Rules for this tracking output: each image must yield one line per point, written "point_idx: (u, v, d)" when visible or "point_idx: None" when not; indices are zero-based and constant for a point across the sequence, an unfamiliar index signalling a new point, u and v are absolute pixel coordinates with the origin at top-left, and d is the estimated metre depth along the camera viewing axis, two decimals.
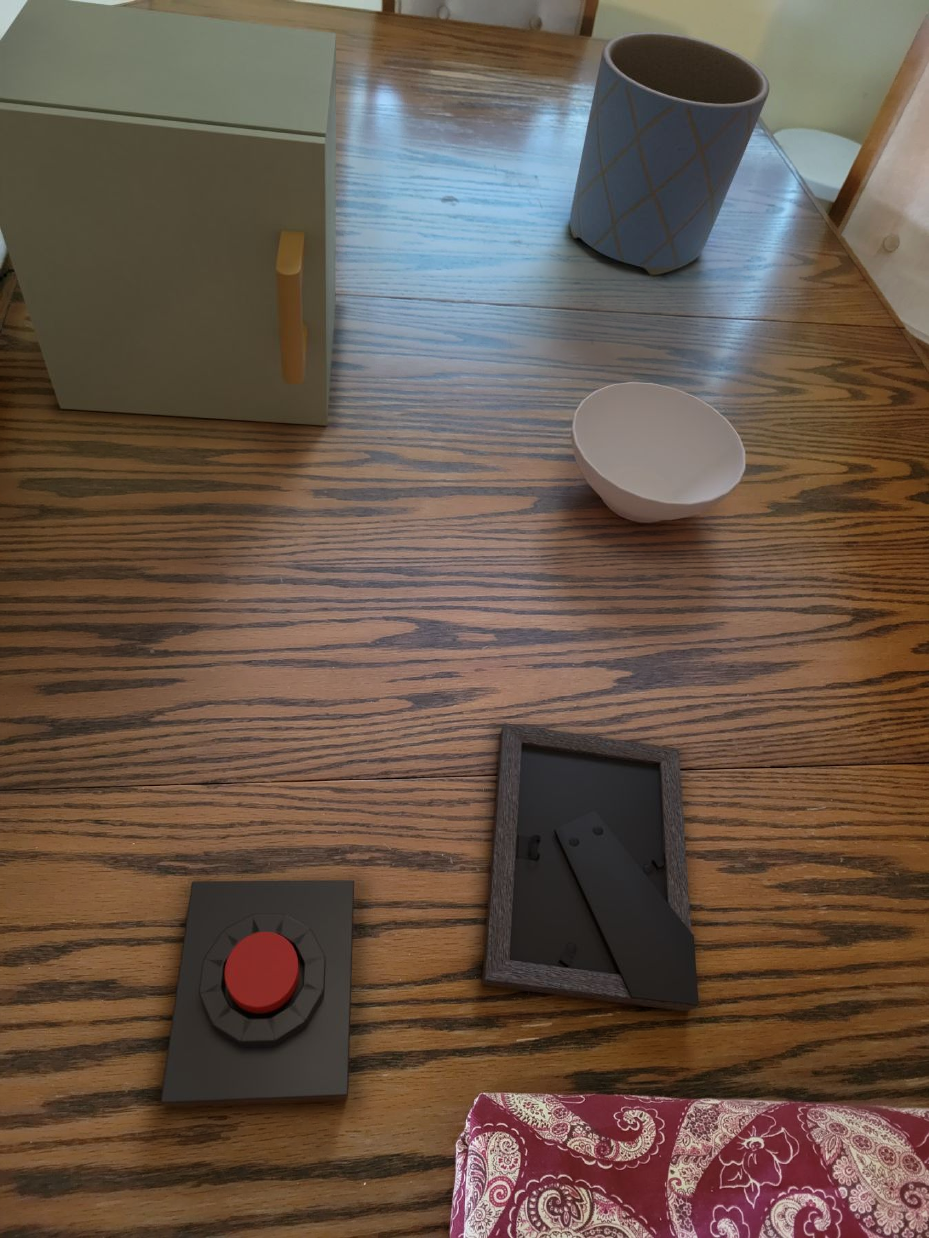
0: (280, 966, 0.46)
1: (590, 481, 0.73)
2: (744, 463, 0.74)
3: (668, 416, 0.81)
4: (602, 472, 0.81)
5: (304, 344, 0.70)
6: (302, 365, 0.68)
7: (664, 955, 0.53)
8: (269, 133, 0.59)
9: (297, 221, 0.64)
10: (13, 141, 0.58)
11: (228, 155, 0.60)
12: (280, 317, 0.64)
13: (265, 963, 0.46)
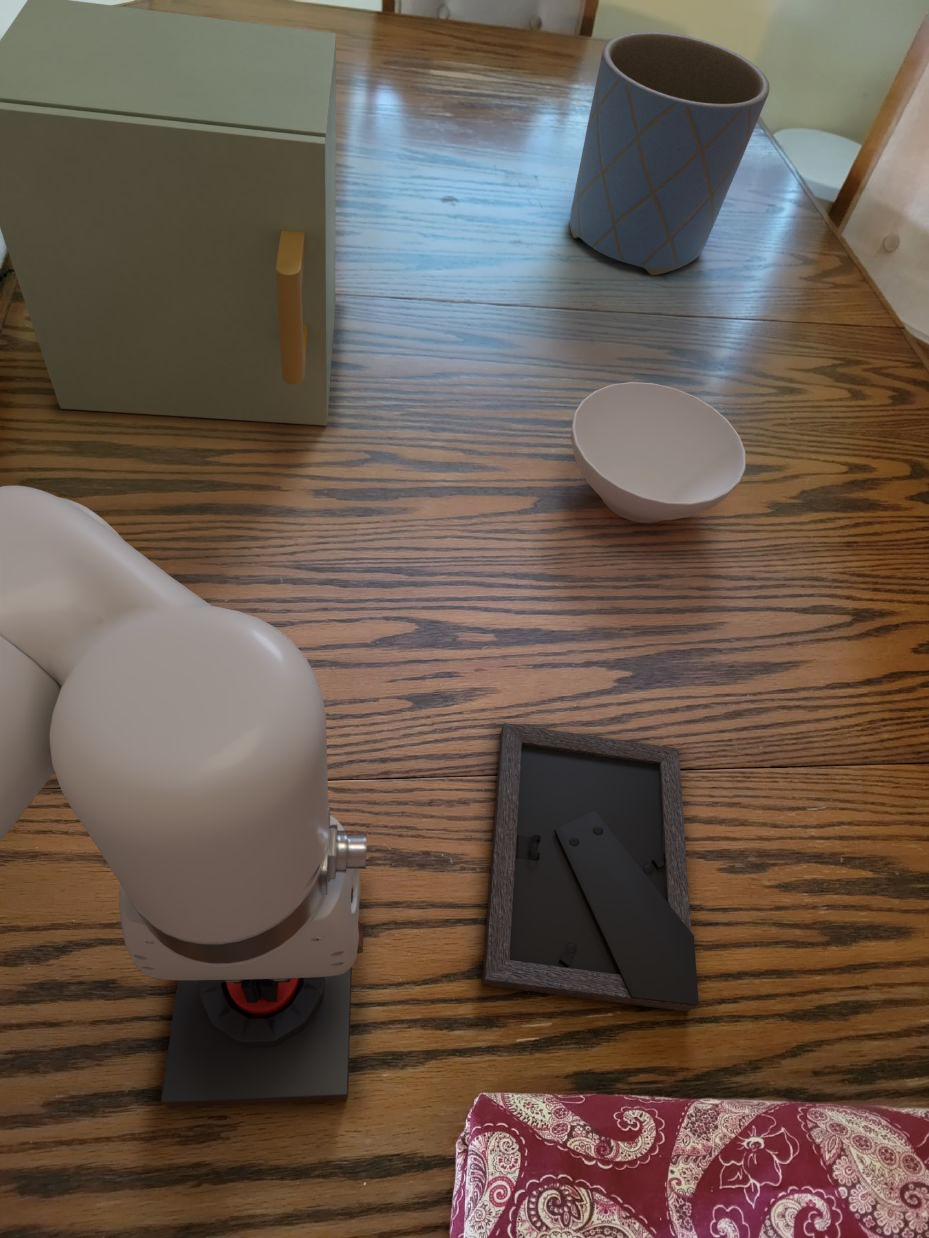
0: None
1: (590, 481, 0.73)
2: (743, 463, 0.74)
3: (668, 416, 0.81)
4: (602, 472, 0.81)
5: (304, 344, 0.70)
6: (302, 365, 0.68)
7: (664, 955, 0.53)
8: (269, 133, 0.59)
9: (297, 221, 0.64)
10: (13, 141, 0.58)
11: (228, 155, 0.60)
12: (280, 317, 0.64)
13: None
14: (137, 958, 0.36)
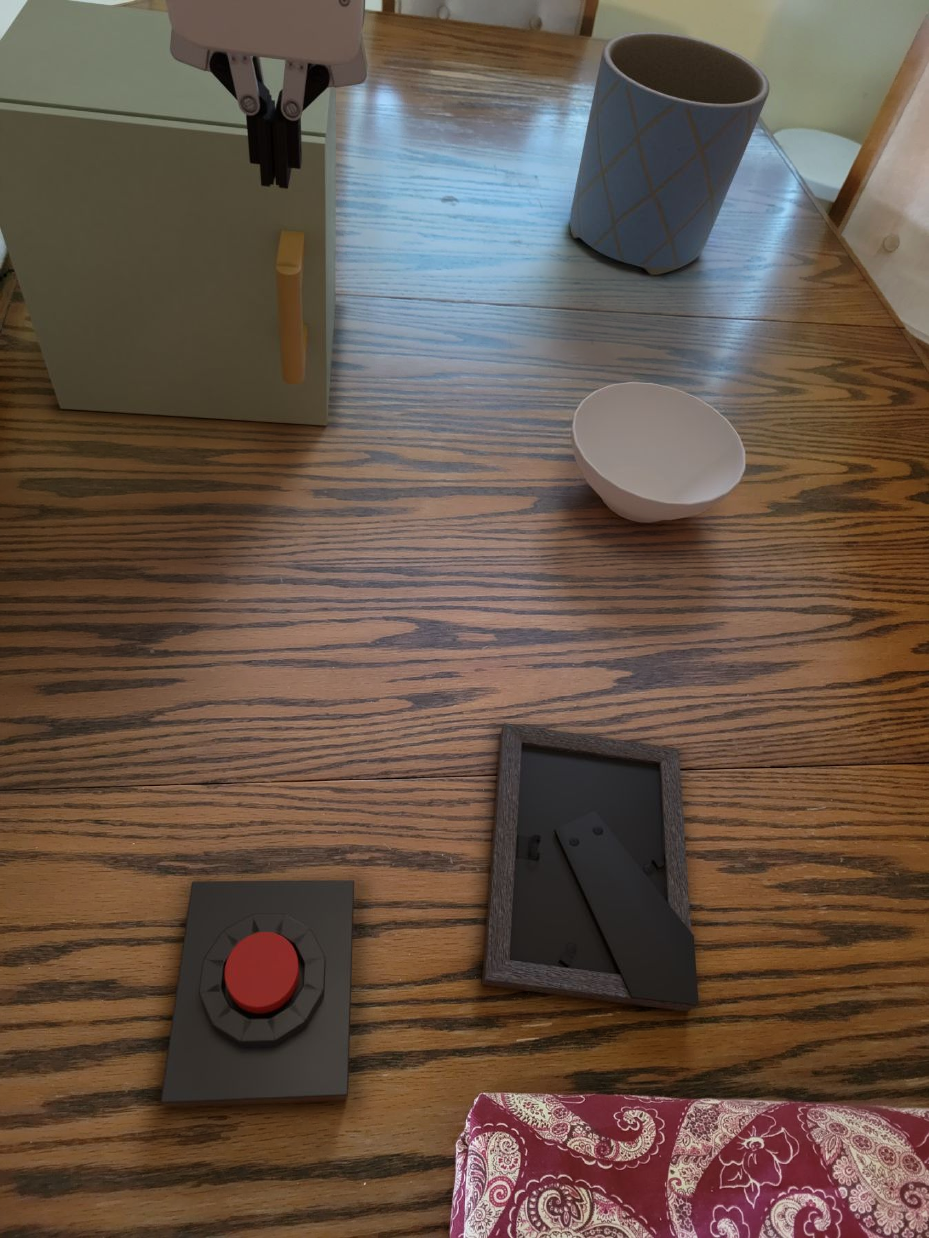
0: (280, 966, 0.46)
1: (590, 481, 0.73)
2: (743, 463, 0.74)
3: (668, 416, 0.81)
4: (602, 472, 0.81)
5: (304, 344, 0.70)
6: (302, 365, 0.68)
7: (664, 955, 0.53)
8: None
9: (297, 221, 0.64)
10: (13, 141, 0.58)
11: (228, 155, 0.60)
12: (280, 317, 0.64)
13: (265, 963, 0.46)
14: None
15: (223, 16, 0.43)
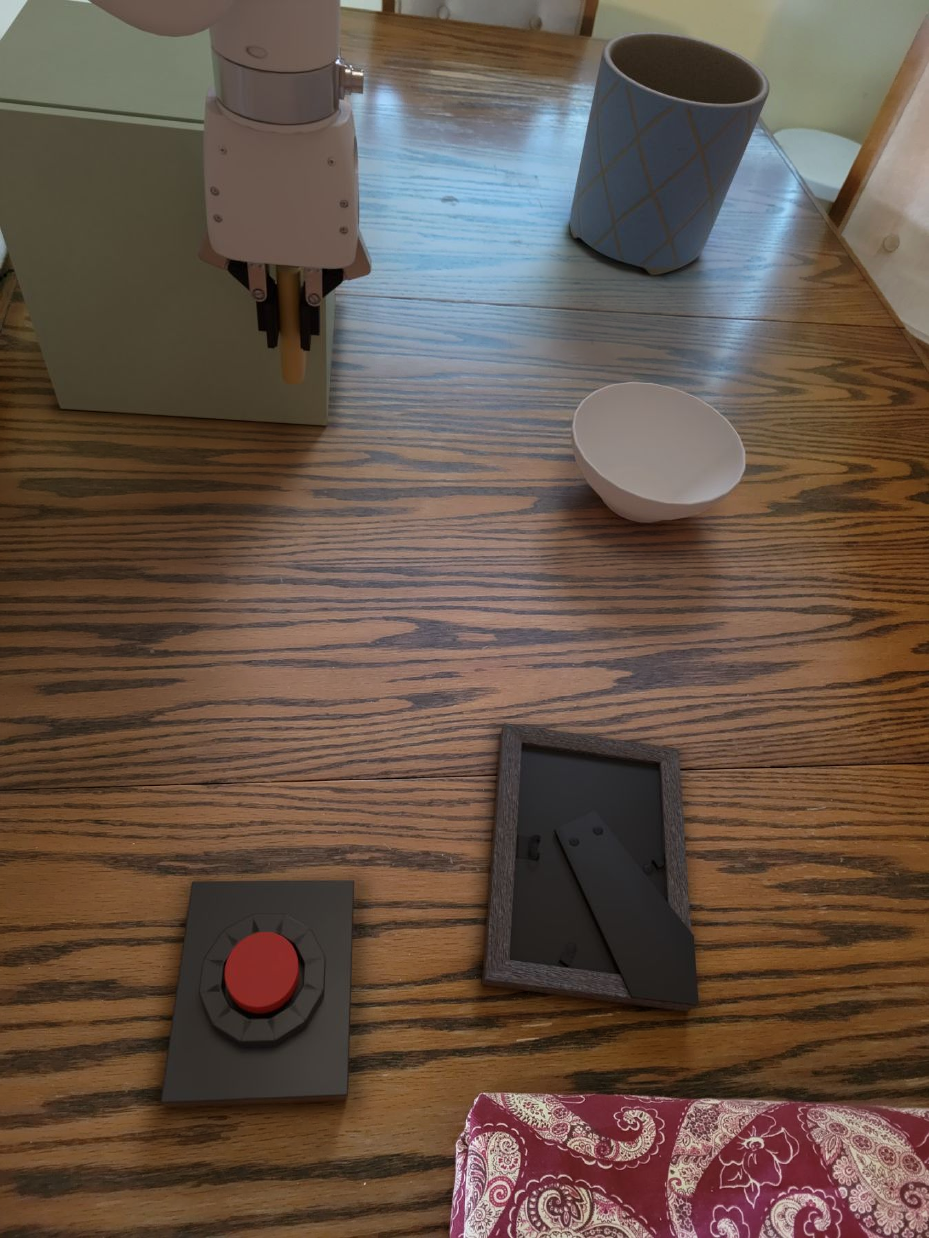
0: (280, 966, 0.46)
1: (590, 481, 0.73)
2: (743, 463, 0.74)
3: (668, 416, 0.81)
4: (602, 472, 0.81)
5: None
6: (302, 365, 0.68)
7: (664, 955, 0.53)
8: None
9: None
10: (13, 141, 0.58)
11: None
12: (280, 317, 0.64)
13: (265, 963, 0.46)
14: (212, 195, 0.54)
15: (252, 242, 0.57)
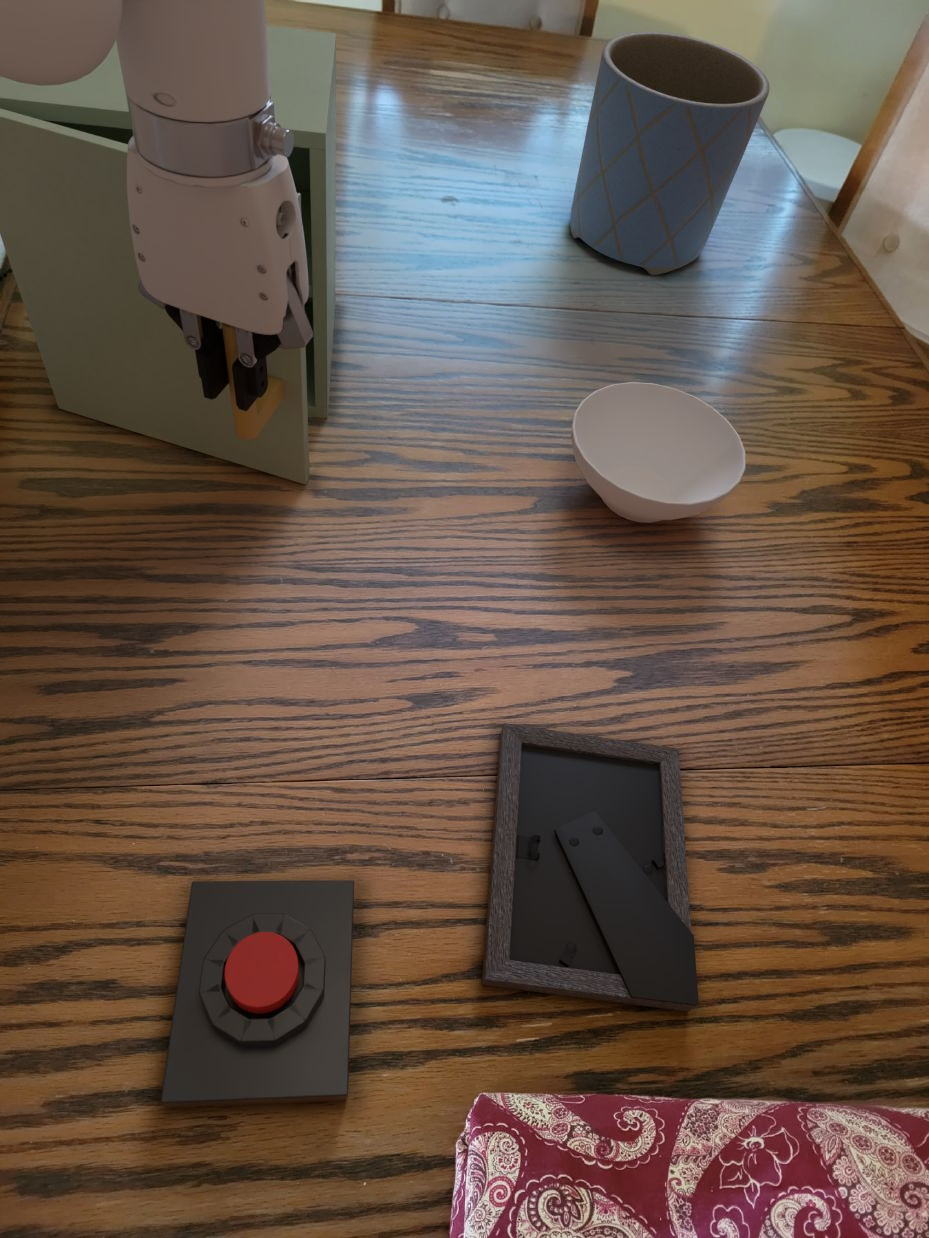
0: (280, 966, 0.46)
1: (590, 481, 0.73)
2: (744, 463, 0.74)
3: (668, 416, 0.81)
4: (602, 472, 0.81)
5: (267, 400, 0.65)
6: (253, 422, 0.64)
7: (664, 955, 0.53)
8: None
9: None
10: (4, 147, 0.58)
11: None
12: (227, 369, 0.60)
13: (265, 963, 0.46)
14: (134, 233, 0.50)
15: (175, 288, 0.52)
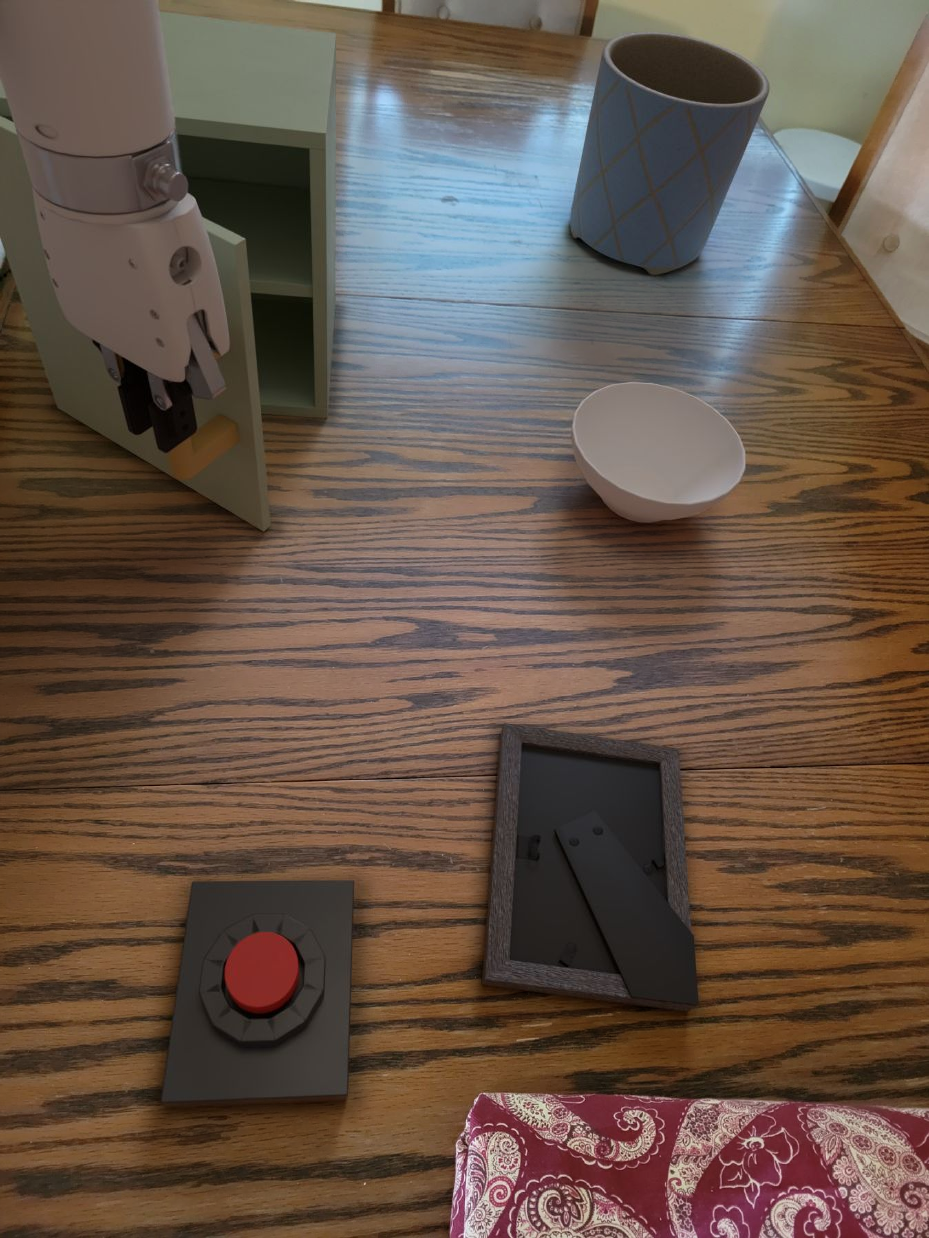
0: (280, 966, 0.46)
1: (590, 481, 0.73)
2: (743, 463, 0.74)
3: (668, 416, 0.81)
4: (602, 472, 0.81)
5: (210, 442, 0.61)
6: (186, 462, 0.60)
7: (664, 955, 0.53)
8: None
9: None
10: None
11: None
12: None
13: (265, 963, 0.46)
14: (46, 258, 0.48)
15: (85, 319, 0.50)
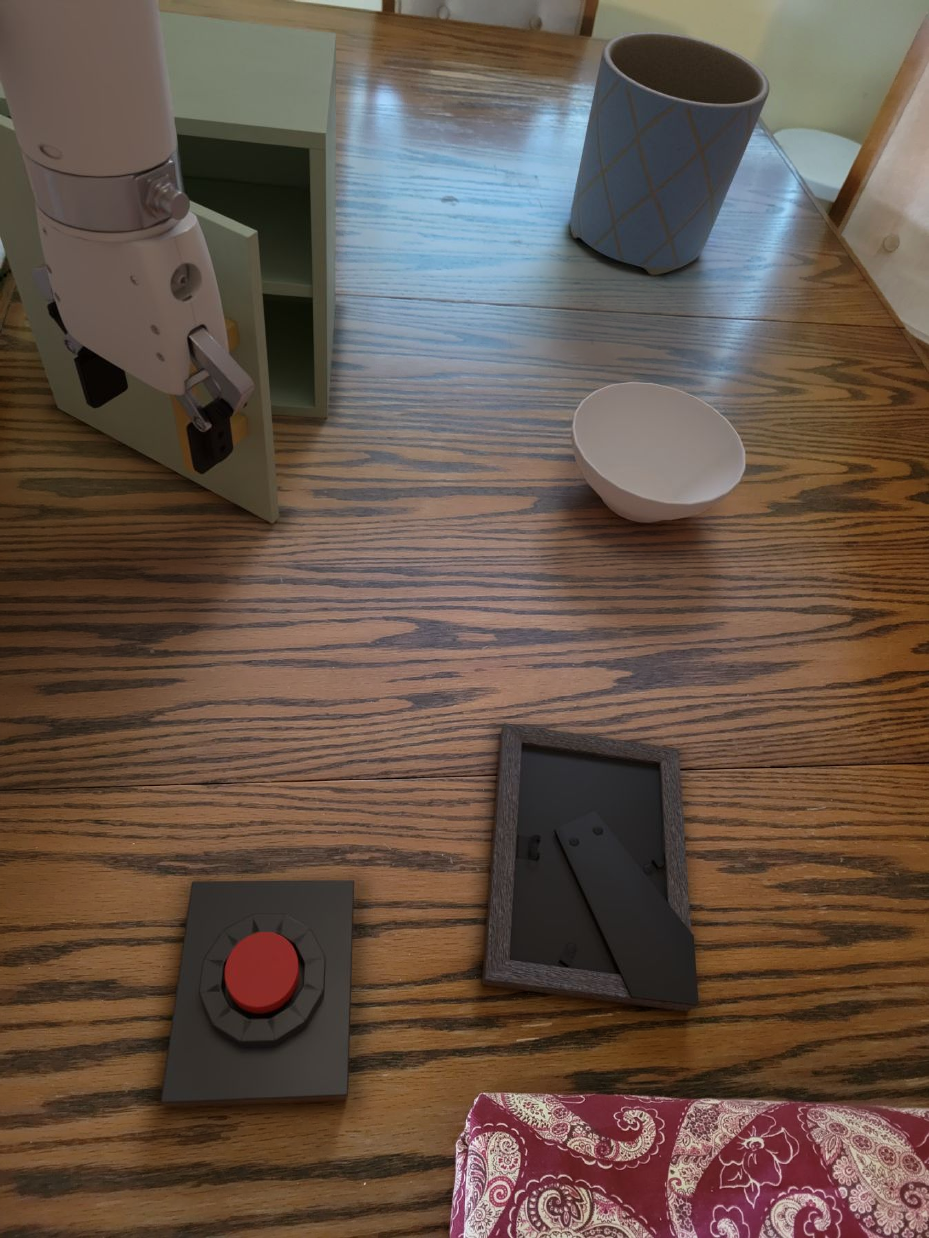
0: (280, 966, 0.46)
1: (590, 481, 0.73)
2: (743, 463, 0.74)
3: (668, 416, 0.81)
4: (602, 472, 0.81)
5: None
6: None
7: (664, 955, 0.53)
8: (202, 210, 0.52)
9: (229, 308, 0.56)
10: None
11: None
12: None
13: (265, 963, 0.46)
14: (48, 272, 0.49)
15: (87, 333, 0.50)
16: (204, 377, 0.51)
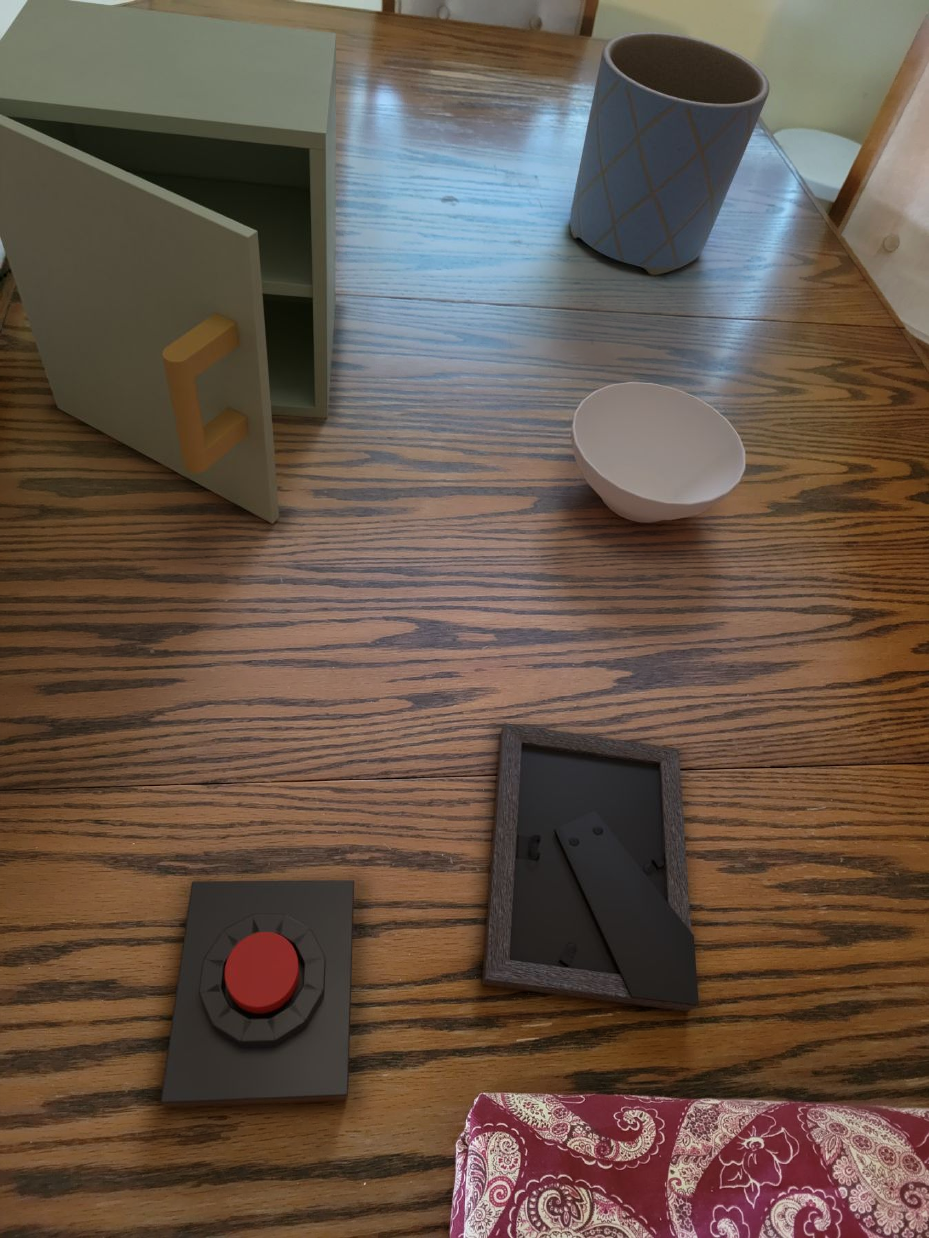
0: (280, 966, 0.46)
1: (590, 481, 0.73)
2: (743, 463, 0.74)
3: (668, 416, 0.81)
4: (602, 472, 0.81)
5: (222, 435, 0.62)
6: (199, 456, 0.61)
7: (664, 955, 0.53)
8: (202, 210, 0.52)
9: (229, 308, 0.56)
10: None
11: (163, 220, 0.54)
12: None
13: (265, 963, 0.46)
14: None
15: None
16: None
